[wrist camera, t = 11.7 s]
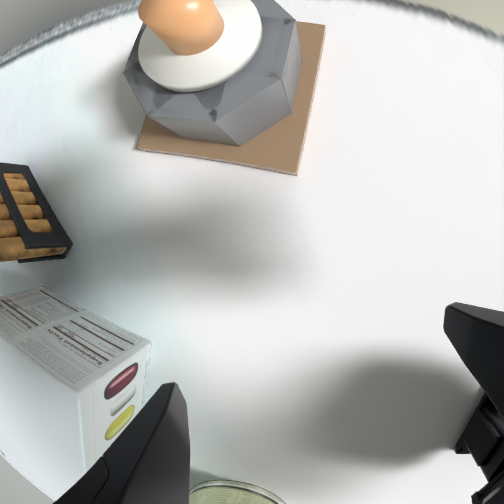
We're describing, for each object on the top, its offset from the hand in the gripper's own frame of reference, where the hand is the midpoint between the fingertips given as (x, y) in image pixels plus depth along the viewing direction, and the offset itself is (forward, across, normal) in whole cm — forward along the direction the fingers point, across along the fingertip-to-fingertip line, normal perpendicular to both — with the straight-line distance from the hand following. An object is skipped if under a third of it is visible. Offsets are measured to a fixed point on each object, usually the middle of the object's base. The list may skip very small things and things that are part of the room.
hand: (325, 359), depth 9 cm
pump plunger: (+13, 0, -11) cm, 17 cm away
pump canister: (+14, 0, -11) cm, 18 cm away
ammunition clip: (+19, +18, -6) cm, 27 cm away
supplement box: (+14, +19, +10) cm, 26 cm away
